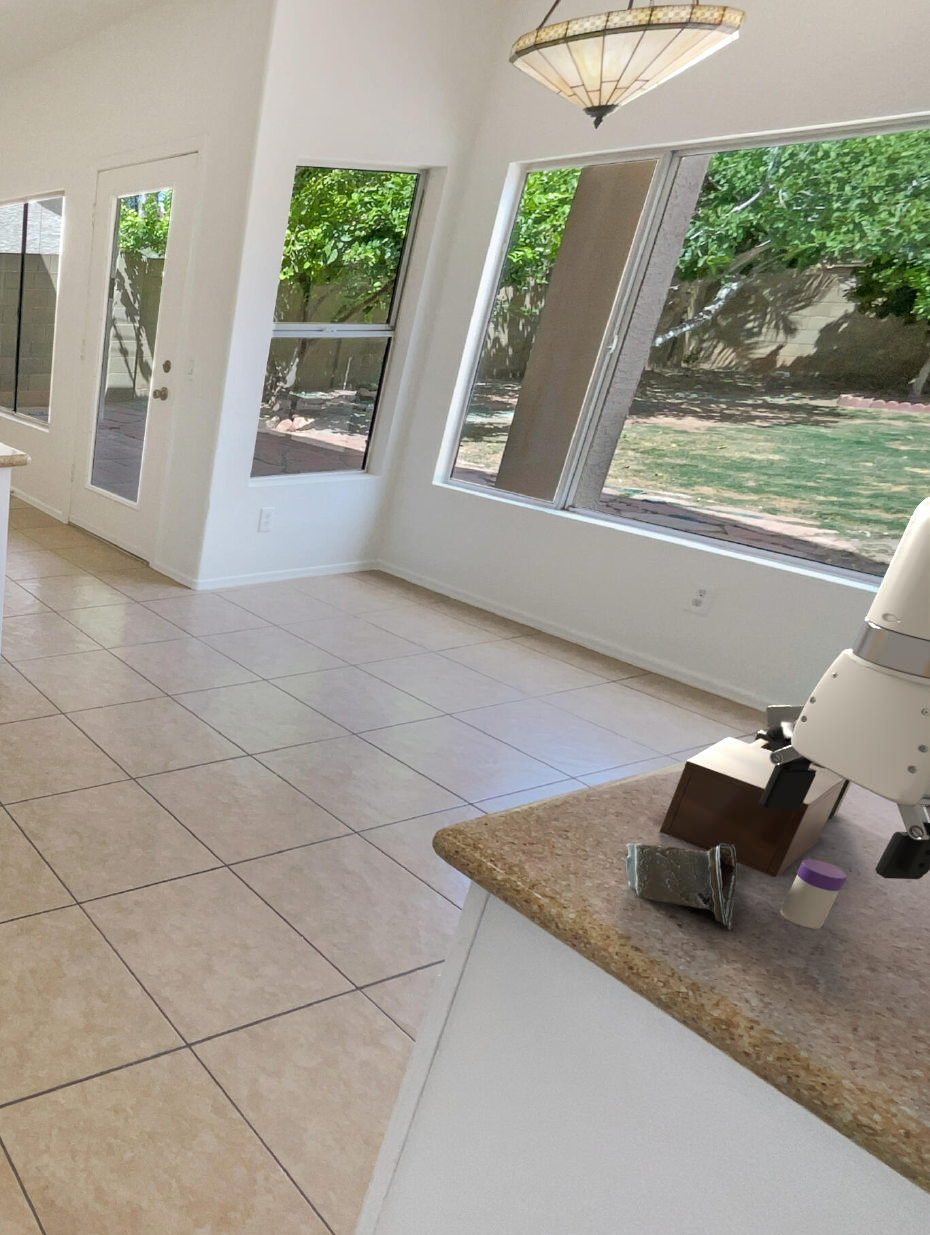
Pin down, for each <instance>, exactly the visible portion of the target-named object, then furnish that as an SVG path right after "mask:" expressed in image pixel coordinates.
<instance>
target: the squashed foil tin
mask: <svg viewBox="0 0 930 1235" xmlns="http://www.w3.org/2000/svg"><path fill="white" fill-rule="evenodd" d="M626 849H627V854H628V855H627V857H625V867H626V877H625V878H626V880H628V883H627V884H628V886H629V888H631V889H632V890H636V894H637V896H638V897H639V898H640V899H643V900H649V901H653V902H663V903H667V904H672V905H677V906H684V907H690V908H694V909H695V908H696V909H703V910H709V911H711V912H713V914H714V917H715V920H716V921H717V922H718V923H720V924H722V925H724V926H725V927H726V928H728V929H729V930H731V926H732V922H731V920H732V915H733V908H734V906H735V904H734V903H735V896H734V895H735V892H736V887H737V885H738V884H737V882H739V881H738V870H737V868H738V867H737V866H738V865H737V863H738V862H736V852H735V848H734V846H733V845H727V844H725V843H723V844H722V843H720V845H719V846H717V847H714V848H712V849H710V850H709V851H708V850H705V851H704V850H697V849H688V848H681V847H673V846H662V845H657V844H649V843H627V844H626Z"/></svg>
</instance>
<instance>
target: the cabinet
mask: <svg viewBox="0 0 930 1235" xmlns="http://www.w3.org/2000/svg"><path fill="white" fill-rule="evenodd" d="M771 753H772V751H770V750H767V749H764V748H761V747H758V746H755V745H752V743H749V742H745V741H742V740H739V739H736V738H734V737H730V736H729V737H727V738H724V739H723V740H721V741H719V742H717V743H715V744H714V745H712V746H710V747H708V748H707V749H705V750H703V751H701V752H700V753H698V754H697V755H695V756H693V757H691V758H689V759H687V760H686V762H685V764H684V767H683V770H682V772H681V775H680V778H679V780H678V782H677V784H676V788H675V791H674V793H673V795H672V797H671V801H670V803H669V806H668V808H667V811H666V814H665V815H664V816H665V817H664V819H663V822H662V824H661V827H660V829H659V832H660V833H663V834H665V835H667V836H670V837H672V838H676V839H678V840H680V841H683V842H685V843H688V844H690V845H693V846H695V847H698V848H700V849H703V850H705V851H709V850H710V849H712V848H714V847H717V846H719V845H720V843H722V844H723V843H725V844H727V845H733V846H734V848H735V852H736V863H738V864H740V865H743V866H746V867H748V868H751V869H753V870H756V871H758V872H761V873H764V874H765V875H768V876H771V877H773V878H777V877H779V875H781V874H782V873H783V872H784V871H785V870H786V869H787V868H789V867H790V866H791V865H793V863H794V862H795V861H797V859H798V858H800V857H801V856H802V855H803V854H804V853H805V852H807V851H808V850H809V849H810V848H811V847H813V845H815V844H816V843H817V842H818V841H819V838H820V836H821V834H822V832H823V829H824V827H825V826H826V824H827V821H828V819H829V818H828V817H829V815H830V813H831V810H832V808H833V806H834V804H835V802H836V800H837V798H838V795H839V793H840V791H841V789H842V787H843V785H844V782H845V781H846V779H845V778H843V777H841V776H839V775H837V774H835V773H833V772H831V771H829V770H827V769H824V768H821V767H818V766H815V765H810V766H809V768H813V769H815V770H817V771H816V773H815V774H816V776H815V778H814V780H813V782H812V784H811V786H810V789H809V791H808V793H807V795H806V797H805V799H804V801H803V804H802V806H801V807H800V808H799V809H775V808H765V807H764V806H762V805H760V803H759V802H760V799H761V797H762V795H763V793H764V790H765V787H766V785H767V783H768V781H769V778H770V776H771V774H772V772H773V770H774V767H775V765H774V764H773V763H771V761H770V759H769V756H770V754H771Z"/></svg>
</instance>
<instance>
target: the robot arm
mask: <svg viewBox="0 0 930 1235" xmlns="http://www.w3.org/2000/svg"><path fill="white" fill-rule="evenodd" d="M765 715H766V726H767V728H768V729H767V731H766V737H767V740H768V742H769V745H770V747H771V750H772V753H771V754H770V756H769V759H770V761H771V763H773V764H774V765H775V767H774V770H773V772H772V774H771V776H770V778H769V781H768V783H767V785H766V787H765V790H764V793H763V795H762V797H761V799H760V802H759V803H760V805H762V806H764V807H765V808H775V809H799V808H800V807H801V806H802V804H803V801H804V799H805V797H806V795H807V793H808V791H809V789H810V786H811V784H812V782H813V780H814V778H815V776H816V774H815V773H816V771H817V770H815V769H813V768H809V766H810V765H813V764H818V765H820V766H822V767H824V768H825V769H827V770H829V771H831V772H833V773H835V774H837V775H839V776H841V777H843V778H845V779H847V780H849V781H851V782H852V783H853V784H855V785H856V786H859V787H861V788H863V789H865V790H867V791H869V792H871V793H873V794H875V795H877V796H879V797H881V798H883V799H885V800H887V801H890V802H891V803H894V804H896V807H897V809H898V811H899V814H900V817H901V819H902V822H903V826H904V828H905V830H906V831H895V832H894V833H893V834H892V835H891V838H890V840H889V842H888V844H887V846H886V848H885V850H884V851H883V853H882V855H881V857H880V859H879V861H878V863H877V865H876V866H875V869H874V871H875V874H877V875H879V876H880V877H882V878H883V879H893V880H897V879H898V880H919V879H922V878H923V877H924V876H925V875H926V874H927V873H929V872H930V822H929V820H928V818H927V815H928V817H929V819H930V496H929V497H927V498H925V499H924V500H923V501H921V503H920V504H919V505H918V506H917V507H916V509H915V510H914V512H913V515H912V516H911V518H910V520H909V522H908V525H907V526H906V529H905V531H904V533H903V535H902V538H901V540H900V542H899V544H898V546H897V548H896V551H895V553H894V555H893V557H892V560H891V562H890V564H889V566H888V568H887V571H886V572H885V574H884V577H883V579H882V581H881V584H880V586H879V588H878V590H877V592H876V595H875V596H874V599H873V601H872V603H871V606H870V608H869V610H868V612H867V615H866V617H865V618H864V621H863V623H862V625H861V628H860V630H859V632H858V634H857V637H856V638H855V640H854V642H853V645H852V648H848V649H844V650H843V651H841V653H840V654H839V655H838V656H837V658H835V659H834V661H833V662H832V663H831V665H829V667H828V668H827V670H826V671H825V673H824V674H823V675H822V677H821V679H820V680H819V681H818V683H817V685H816V686H815V687H814V689H813V691H812V693H811V694H810V696H809V697H808V699H807V701H806V703H805V704H779V705H778V704H777V705H775V704H771V705H768V706H767V707H766V708H765ZM795 722H796V723H795ZM924 808H925V809H926V812H925V810H924ZM926 813H927V814H926Z"/></svg>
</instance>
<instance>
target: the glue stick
mask: <svg viewBox="0 0 930 1235" xmlns="http://www.w3.org/2000/svg"><path fill="white" fill-rule="evenodd" d="M847 878H848V875H847V873H846V872H845V871H844V870H842V869H841V868H839V867H837V866H835V865H833V864H830V863H828V862H825V861H822V860H818V859H812V858H806V859H803V860H802V861H801V864H800V866H799V868H798V870H797V872H796V876H795V878H794V880H793V883H792V885H791V887H790V890H789V892H788V894H787V896H786V898H785V900H784V902H783V904H782V907H781V909H780V912H779V913H780V914H781V916H782V917H784V918H785V919H786V920H788V921H789V922H791V923H794V924H796V925H798V926H802V927H804V928H808V929H821V928H822V927H823V925H824V923H825V921H826V919H827V917H828V915H829V913H830V911H831V908H832V906H834V903H835V901H836V898H837V897H838V894H839V893H840V891H841V890H842V888H843V886H844V884H845V882H846V880H847Z"/></svg>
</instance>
